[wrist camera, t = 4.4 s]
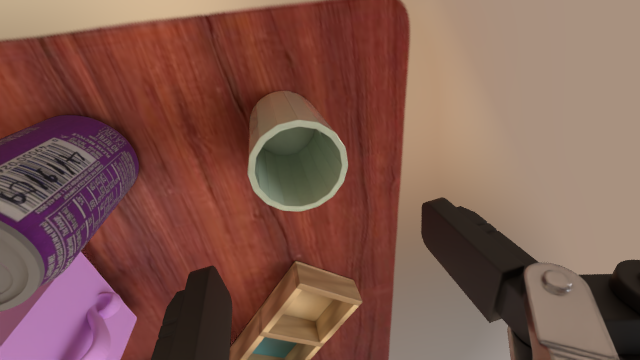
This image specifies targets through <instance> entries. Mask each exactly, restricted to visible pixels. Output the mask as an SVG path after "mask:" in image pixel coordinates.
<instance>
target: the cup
mask: <svg viewBox="0 0 640 360" xmlns="http://www.w3.org/2000/svg"><path fill="white" fill-rule="evenodd" d="M347 168H348V161H347V154H346V148H345V146H344V145H343V143H342V142H341V140H340V139H339V137H338V136H337V134H336V133H335V132H334V130H333V129H332V128H331V127H330V126H329V124H328V123H327V122H326V121H325V120H324V119H323V117H322V116H321V115H320V114H319V113H318V111H317V110H316V109H315V108H314V107H313V105H312V104H311V103H310V102H309V101H308V100H306V99H305V98H304V97H303V96H301V95H299V94H297V93H294V92H290V91H277V92H273V93H270V94H268V95H266V96H265V97H263V98H262V99H261V100H260V101H259V102H258V103H257V104H256V105H255V107H254V108H253V110H252V113H251V115H250V121H249V140H248V171H247V173H248V177H249V180H250V183H251V185H252V188H253V190H254V192H255V193H256V194H257V195H258V196H259V197H260V198H261V199H262V200H263V201H264V202H265V203H267V204H268V205H271V206H273V207H275V208H278V209H280V210H283V211H304V210H308V209H311V208H315V207H318V206H320V205H321V204H323V203H324V202H326V201H327V200H329V199H330V198H331V197H333V196H334V194H335V193H336V192H337V190H338V189H339V188H340V186H341V185H342V184H343V182H344V179H345V175H346V171H347Z"/></svg>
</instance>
